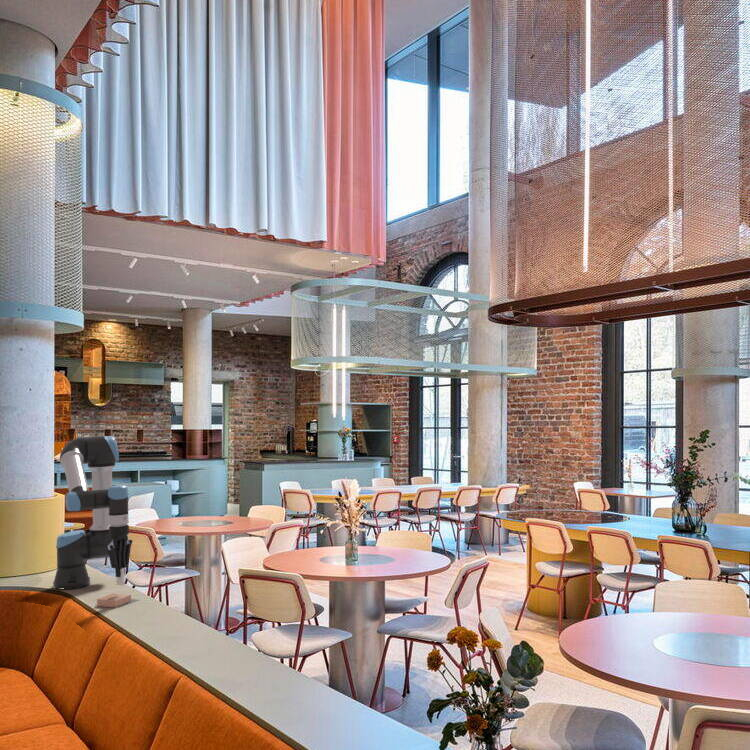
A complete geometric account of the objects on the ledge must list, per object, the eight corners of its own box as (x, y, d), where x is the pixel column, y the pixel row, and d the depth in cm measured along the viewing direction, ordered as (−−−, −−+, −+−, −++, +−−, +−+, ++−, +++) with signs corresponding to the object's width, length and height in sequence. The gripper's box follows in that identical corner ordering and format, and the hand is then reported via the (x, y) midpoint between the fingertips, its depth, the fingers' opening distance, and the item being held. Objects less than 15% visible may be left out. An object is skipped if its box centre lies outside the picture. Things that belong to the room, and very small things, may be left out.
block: (112, 593, 316) (96, 599, 308) (131, 594, 313) (115, 600, 304) (113, 600, 316) (97, 606, 308) (131, 601, 313) (115, 607, 304)
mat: (115, 599, 320) (115, 597, 320) (140, 601, 315) (139, 599, 315) (94, 607, 309) (94, 605, 309) (119, 609, 304) (119, 607, 304)
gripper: (115, 528, 307) (116, 589, 307) (137, 522, 319) (139, 581, 319) (99, 527, 310) (101, 588, 309) (122, 522, 322) (124, 580, 322)
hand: (120, 584), depth 314 cm, fingers closed
